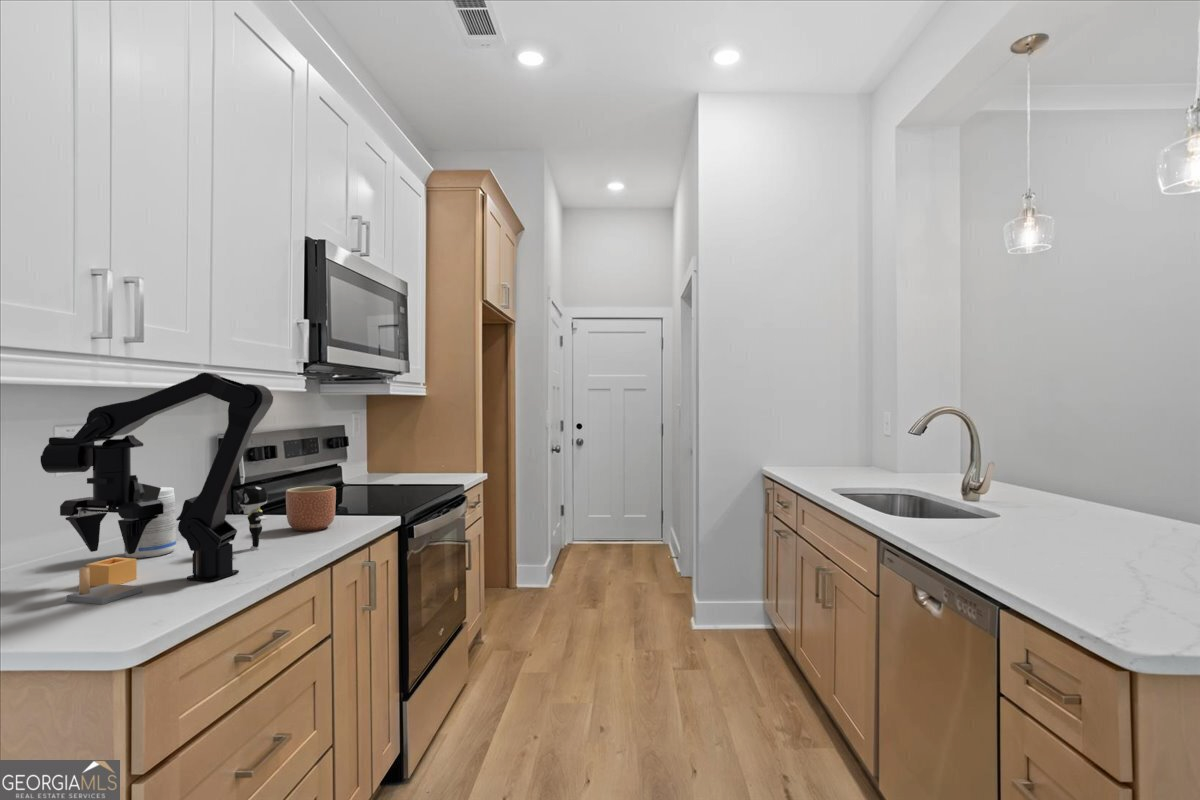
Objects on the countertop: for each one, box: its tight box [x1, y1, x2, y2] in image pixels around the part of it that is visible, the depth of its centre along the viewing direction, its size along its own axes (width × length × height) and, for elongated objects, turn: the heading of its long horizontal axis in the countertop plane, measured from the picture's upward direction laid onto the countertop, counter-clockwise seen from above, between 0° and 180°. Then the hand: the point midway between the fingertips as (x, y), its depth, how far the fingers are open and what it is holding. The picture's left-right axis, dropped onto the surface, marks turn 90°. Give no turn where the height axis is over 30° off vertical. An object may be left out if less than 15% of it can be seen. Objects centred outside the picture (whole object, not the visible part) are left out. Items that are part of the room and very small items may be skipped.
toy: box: [239, 484, 269, 551], centre depth 144 cm, size 13×6×15 cm, turn 42°
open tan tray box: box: [85, 556, 138, 587], centre depth 118 cm, size 5×5×4 cm
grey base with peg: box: [66, 566, 143, 605], centre depth 109 cm, size 8×7×6 cm
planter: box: [285, 485, 337, 532], centre depth 167 cm, size 12×12×11 cm
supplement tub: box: [123, 486, 177, 559], centre depth 140 cm, size 10×10×15 cm
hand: (112, 552), depth 118 cm, fingers open, 9 cm apart
